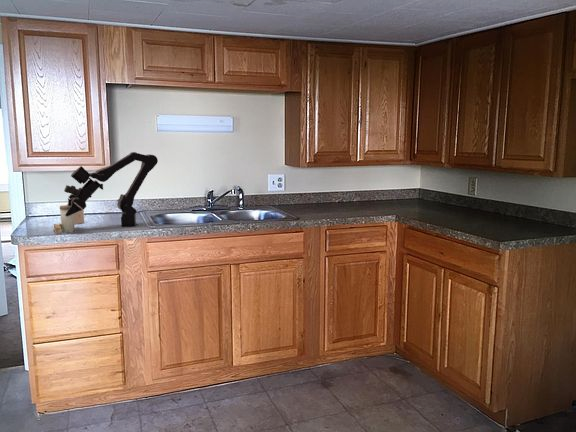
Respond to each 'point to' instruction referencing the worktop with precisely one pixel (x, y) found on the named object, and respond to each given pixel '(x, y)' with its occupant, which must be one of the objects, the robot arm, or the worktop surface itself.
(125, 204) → the robot arm
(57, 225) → the stand
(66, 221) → the tea canister
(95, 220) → the worktop surface
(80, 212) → the beige lidded jar
